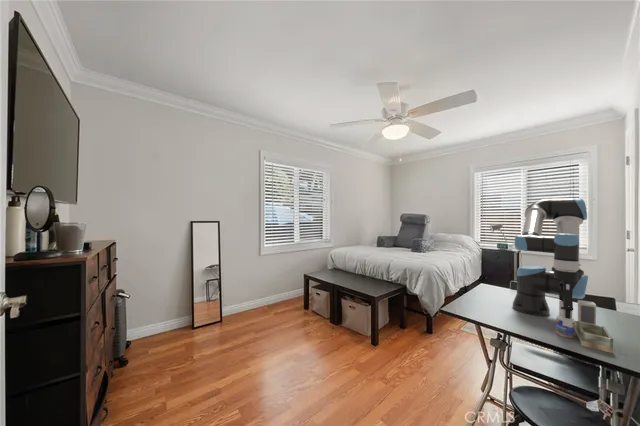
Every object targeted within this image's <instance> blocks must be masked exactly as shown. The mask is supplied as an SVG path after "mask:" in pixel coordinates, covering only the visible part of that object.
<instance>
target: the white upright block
mask: <svg viewBox="0 0 640 426" xmlns="http://www.w3.org/2000/svg"><path fill="white" fill-rule="evenodd" d="M577 321H578V322H582V323H587V324H592V325H597V305H596V303H595V302H593V301H588V300H582V299H577Z"/></svg>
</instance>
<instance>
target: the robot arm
mask: <svg viewBox="0 0 640 426" xmlns="http://www.w3.org/2000/svg"><path fill="white" fill-rule="evenodd" d="M524 218H525V221H524V224H523V229H522V232H521V234H516V235H515V237H514V248H515V249H516V250H517V251H524V252H537V253H538V252H539V253H549V254H554V256H553V266H552V267H551V270H547V268H546V266H538V265H525V266H520V267H518V268H517V271H516V272H517V273H516V295H515V297H514V299H513V301H512V308H513V309H514V310H516V311H518V312H521V313H525V314H529V315H533V316H534V315H535V316H539V317H540V316H544V317H545V316H549V315H550V313H551V312H550V311H551V310H550V307H549V304H548V302H547V299H546V294H547V295H548V294H549V295H553V296H554V295H555V296H558V298H559V300H558V301H559V303H558V305H559V309H558V311H560V310H562V311H563V325H564V326H568V327H572V318H573V311H574V306H573V305H574V304H573V303H574V302H573V299H577V300H582V299H584V298H585V297H586V291H587V287H588V286H587V285H588V282H589V281H588V279H589V275H587V274H585V270H583V269H582V268H580V266H581V263H580V225H582V224H583V223H584V221H586V220H587V219H588V213H587V205H586V202H585V200H584V199H583V198H576V197H575V198H574V197H571V198H543V199H540V200H537V201H534V202H533V203H531V204H530V205H528V206H527V207H526V209H525V211H524ZM545 220H552V221H553V223H554V224H555V225H556V233H555V234H554V236H545V235H544V236H543V235H542V234H543V226H544V221H545ZM558 315H560V314H559V313H558Z"/></svg>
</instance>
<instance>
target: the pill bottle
mask: <svg viewBox="0 0 640 426" xmlns="http://www.w3.org/2000/svg"><path fill="white" fill-rule="evenodd" d="M558 311H559V310H558ZM559 314H560V315H559ZM574 321H575V319H574V318H573V317H572V327H568V326H564V325H563V311H562V310H560V311H559V312H558V315H557V316H556V327H555V329H556V331H555V332H556V334H557V335H559V336H561V337H563V338H569V339H573V338H575V328H574Z"/></svg>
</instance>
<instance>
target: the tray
mask: <svg viewBox="0 0 640 426" xmlns="http://www.w3.org/2000/svg"><path fill="white" fill-rule="evenodd" d="M574 332H575V333H576V335H577V338H578V340H579V342H580V345H581V346H582V347H586V348H590V349H593V350H598V351H603V352H606V353H609V354H610V353H611V354H614V338H613V336H611V334H610V333H609V332H608V330H607V329H606V327H605V326H602V325H598V324H596V325H592V324H587V323H582V322H578V320H574Z"/></svg>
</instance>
